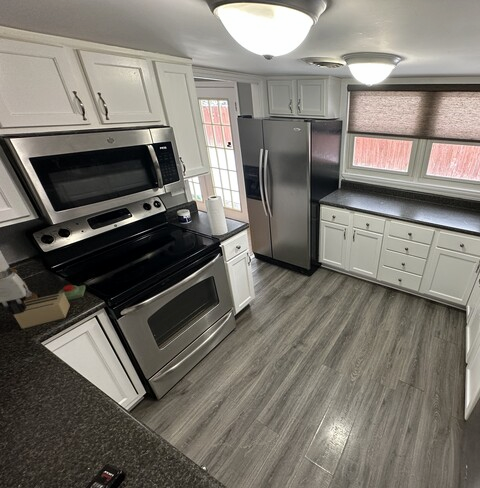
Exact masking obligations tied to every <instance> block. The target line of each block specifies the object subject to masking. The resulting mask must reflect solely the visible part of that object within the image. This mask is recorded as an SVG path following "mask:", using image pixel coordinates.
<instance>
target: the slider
mask: <svg viewBox="0 0 480 488" xmlns="http://www.w3.org/2000/svg"><path fill="white" fill-rule="evenodd" d="M17 304H18V303H17V301H16V299H15V300H11V303H10V306H11V308H12V310H13V311H14V313H15V314H18V313H21V311H20V310H19V308H18V306H17Z"/></svg>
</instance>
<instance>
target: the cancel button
mask: <svg viewBox="0 0 480 488" xmlns="http://www.w3.org/2000/svg"><path fill="white" fill-rule="evenodd" d="M73 286H74V285H72V284H68V285H65V286H63V288H62V289H64V292H68V291H71V290H73V289H74V287H73Z"/></svg>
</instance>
